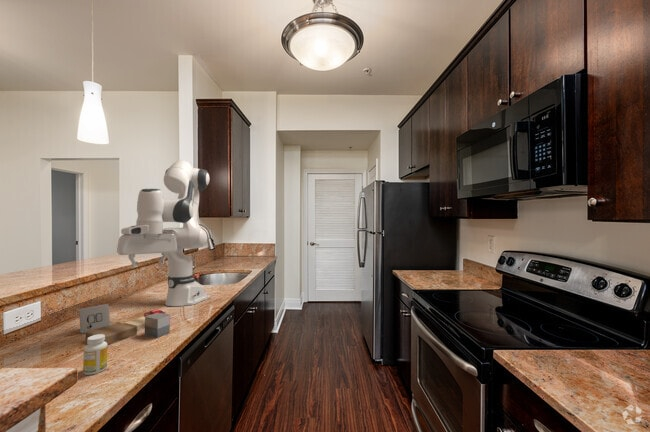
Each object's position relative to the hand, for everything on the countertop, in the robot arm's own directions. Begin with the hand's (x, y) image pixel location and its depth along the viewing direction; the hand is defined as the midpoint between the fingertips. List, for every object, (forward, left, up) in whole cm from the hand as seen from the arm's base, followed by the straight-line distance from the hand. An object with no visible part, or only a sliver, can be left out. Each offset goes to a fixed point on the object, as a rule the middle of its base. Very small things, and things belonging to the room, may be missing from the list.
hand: (148, 265), depth 111 cm
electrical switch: (+7, -22, -26) cm, 35 cm away
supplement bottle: (+25, +13, -26) cm, 38 cm away
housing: (0, +5, -26) cm, 26 cm away
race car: (-11, -10, -26) cm, 30 cm away
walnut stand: (+9, -7, -26) cm, 28 cm away
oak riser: (-3, -9, -26) cm, 27 cm away
